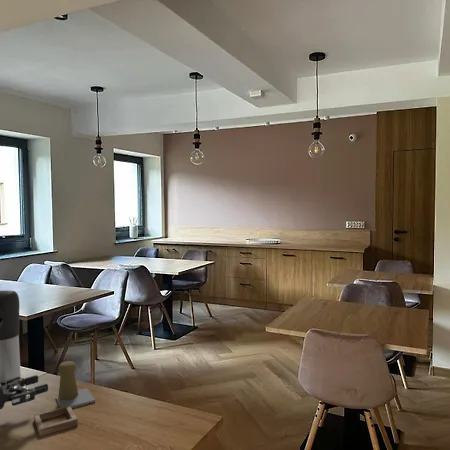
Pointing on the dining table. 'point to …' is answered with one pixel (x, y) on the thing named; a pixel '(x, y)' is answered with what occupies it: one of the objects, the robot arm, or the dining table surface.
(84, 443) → the dining table surface
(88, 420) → the dining table surface
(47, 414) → the wooden square frame
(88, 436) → the dining table surface
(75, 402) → the slate tile
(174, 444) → the dining table surface
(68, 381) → the cork
